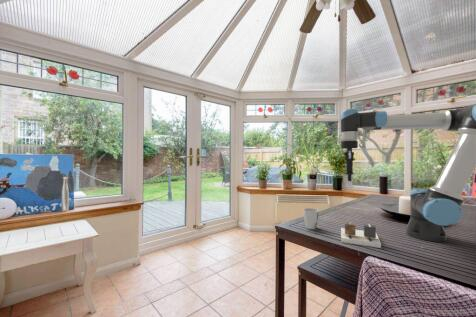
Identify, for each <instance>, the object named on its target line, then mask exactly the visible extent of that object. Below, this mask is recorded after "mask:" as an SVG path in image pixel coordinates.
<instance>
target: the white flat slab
mask: <svg viewBox="0 0 476 317" xmlns="http://www.w3.org/2000/svg"><path fill="white" fill-rule="evenodd" d="M340 239H341V240H340V241H341V243H344V244H345V243H346V244H351V245H359V246H364V247H365V246H366V247H372V248H377V249H378V248H379V249H382V243H381V240H380V238H379V236H378V234H377V233H376V238H370V237H364V229H363V230H361V229H360V230H359V229H356V236H355V235H348V234H345V227H340Z"/></svg>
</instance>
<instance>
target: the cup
mask: <svg viewBox="0 0 476 317" xmlns="http://www.w3.org/2000/svg"><path fill="white" fill-rule="evenodd" d="M319 212H320V211H319V209H318V208H313V207H312V208H311V207H308V208H303V212H302V214H303V219H304V224H305V228H306V229H308V230H315V229H317V226H318V221H319Z"/></svg>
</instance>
